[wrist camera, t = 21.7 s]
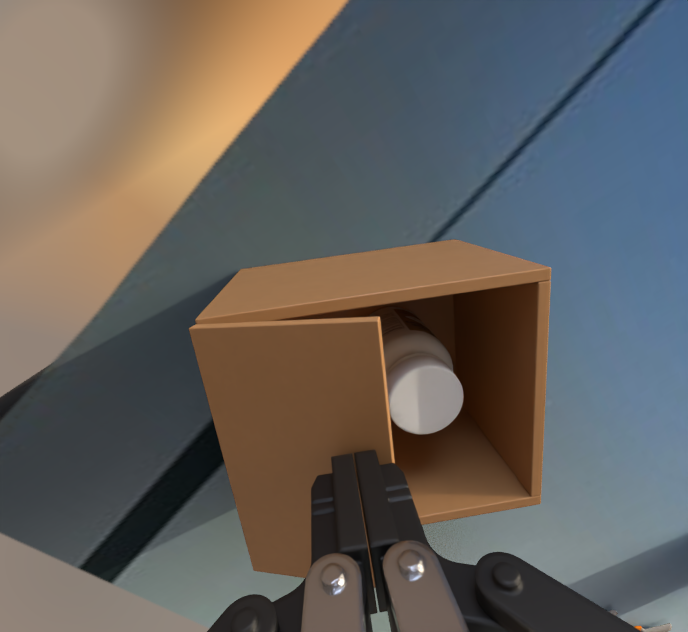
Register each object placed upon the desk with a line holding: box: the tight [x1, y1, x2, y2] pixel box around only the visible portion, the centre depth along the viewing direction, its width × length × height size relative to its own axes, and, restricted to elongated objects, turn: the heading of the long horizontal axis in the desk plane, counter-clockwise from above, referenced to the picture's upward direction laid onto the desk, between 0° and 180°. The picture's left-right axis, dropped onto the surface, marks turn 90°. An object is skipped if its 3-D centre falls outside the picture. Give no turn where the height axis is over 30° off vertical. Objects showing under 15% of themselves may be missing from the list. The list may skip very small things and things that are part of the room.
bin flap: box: [189, 317, 395, 588], centre depth 14 cm, size 6×11×1 cm, turn 7°
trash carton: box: [195, 239, 551, 525], centre depth 20 cm, size 13×11×10 cm
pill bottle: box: [368, 307, 464, 435], centre depth 20 cm, size 4×4×8 cm
